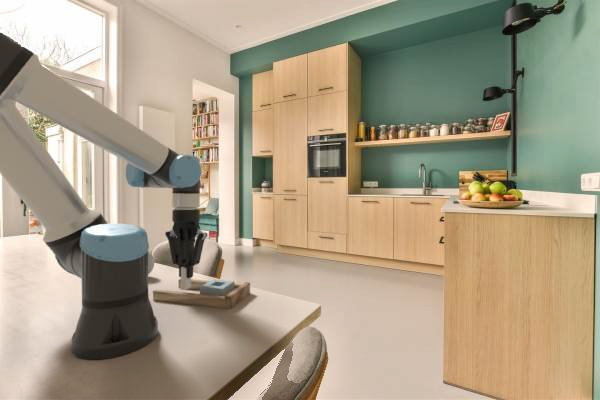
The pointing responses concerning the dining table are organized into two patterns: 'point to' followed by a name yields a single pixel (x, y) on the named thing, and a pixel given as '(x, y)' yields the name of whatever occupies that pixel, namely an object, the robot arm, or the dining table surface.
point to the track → (202, 299)
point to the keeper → (217, 288)
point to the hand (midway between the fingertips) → (186, 288)
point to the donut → (150, 262)
